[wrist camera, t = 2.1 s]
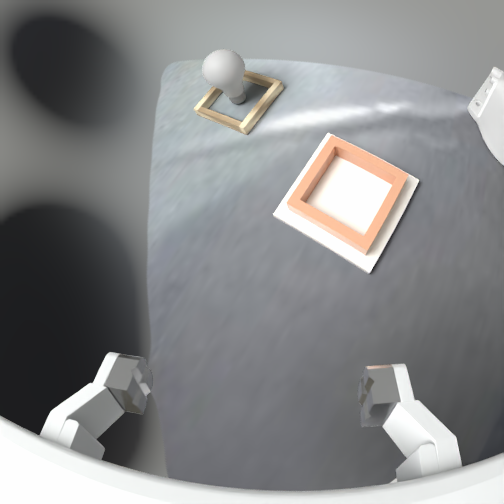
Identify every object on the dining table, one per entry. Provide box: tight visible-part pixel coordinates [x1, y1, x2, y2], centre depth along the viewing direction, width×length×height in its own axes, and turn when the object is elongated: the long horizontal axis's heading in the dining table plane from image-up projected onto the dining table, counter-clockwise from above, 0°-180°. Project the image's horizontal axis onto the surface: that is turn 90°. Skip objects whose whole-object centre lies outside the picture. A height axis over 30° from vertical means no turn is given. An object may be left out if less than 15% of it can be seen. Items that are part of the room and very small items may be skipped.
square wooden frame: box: [194, 70, 284, 135], centre depth 46 cm, size 10×10×2 cm
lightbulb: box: [202, 49, 246, 104], centre depth 41 cm, size 6×6×11 cm
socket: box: [273, 133, 419, 274], centre depth 37 cm, size 14×14×4 cm
